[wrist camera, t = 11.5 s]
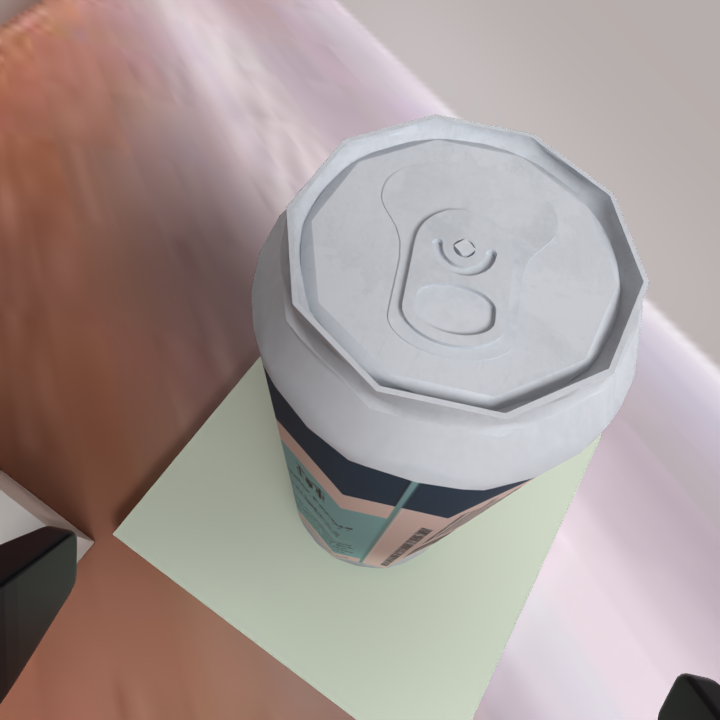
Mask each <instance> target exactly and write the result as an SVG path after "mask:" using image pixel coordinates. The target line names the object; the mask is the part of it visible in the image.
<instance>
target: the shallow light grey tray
mask: <svg viewBox="0 0 720 720" xmlns="http://www.w3.org/2000/svg"><path fill="white" fill-rule="evenodd" d="M45 526H55V527H59V528H64V529H68V530H72V531H73V532H75V534H76V536H77V563H78V562H79V560H80V559H81V558H82V557H83V556H84V554H85V553H86V552H87V551H88V550H89V548H90V547H91V546H92V545H93V544H94V541H93V540H91V539H90V538H89V537H88V536H86V535H85V534H84V533H82V532H81V531H80V530H78V529H77V528H76V527H75V526H73V525H72V524H71V523H69V522H68V521H67V520H65V519H64V518H63V517H62V516H60V515H59V514H58V513H56V512H55V511H54V510H52V509H51V508H50V507H49V506H47V505H46V504H45V503H43V502H42V501H41V500H39V499H38V498H37V497H36V496H34V495H33V494H32V493H30V492H29V491H28V490H26V489H25V488H24V487H23V486H21V485H20V484H19V483H17V482H16V481H15V480H14V479H12V478H11V477H10V476H8V475H7V474H6V473H4V472H3V471H2V470H1V469H0V544H3V543H5V542H7V541H10V540H12V539H15V538H17V537H20V536H22V535H25V534H27V533H30V532H32V531H35V530H37V529H39V528H42V527H45Z"/></svg>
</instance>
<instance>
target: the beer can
mask: <svg viewBox="0 0 720 720" xmlns="http://www.w3.org/2000/svg"><path fill="white" fill-rule="evenodd" d="M648 285H649V281H648V278H647V276H646V273H645V271H644V268H643V266H642V263H641V261H640V258H639V256H638V253H637V251H636V248H635V246H634V243H633V240H632V238H631V236H630V233H629V231H628V228H627V226H626V223H625V221H624V218H623V215H622V213H621V210H620V208H619V205H618V203H617V200H616V198H615V195H614V194H613V193H612V192H610V191H609V190H608V189H606V188H605V187H604V186H602V185H601V184H600V183H598V182H597V181H596V180H594V179H593V178H592V177H590V176H589V175H588V174H586V173H585V172H584V171H582V170H581V169H580V168H578V167H577V166H576V165H574V164H573V163H572V162H570V161H569V160H568V159H566V158H565V157H564V156H562V155H561V154H560V153H558V152H557V151H556V150H554V149H553V148H552V147H550V146H549V145H548V144H546V143H545V142H544V141H542V140H541V139H540V138H538V137H537V136H535V135H534V134H530V133H525V132H521V131H515V130H511V129H506V128H500V127H496V126H490V125H485V124H481V123H476V122H471V121H465V120H461V119H456V118H451V117H446V116H441V115H436V114H435V115H431V116H427V117H424V118H420V119H416V120H413V121H409V122H405V123H402V124H398V125H394V126H391V127H387V128H384V129H380V130H376V131H373V132H369V133H365V134H362V135H358V136H354V137H351V138H347V139H344V140H343V141H342V142H341V143H340V144H339V146H338V147H337V148H336V149H335V150H334V152H333V153H332V154H331V155H330V156H329V157H328V159H327V160H326V161H325V162H324V163H323V165H322V166H321V167H320V168H319V169H318V171H317V172H316V173H315V174H314V175H313V176H312V178H311V179H310V180H309V181H308V182H307V184H306V185H305V186H304V187H303V188H302V189H301V190H300V192H299V193H298V194H297V195H296V197H295V198H294V199H293V200H292V201H291V203H290V204H289V205H288V206H287V207H286V210H285V211H284V212H283V213H282V214H281V215H280V216H279V218H278V220H277V222H276V224H275V226H274V227H273V229H272V231H271V233H270V235H269V237H268V238H267V240H266V242H265V244H264V246H263V248H262V249H261V252H260V254H259V258H258V263H257V268H256V272H255V277H254V281H253V286H252V320H253V330H254V333H255V337H256V341H257V344H258V348H259V352H260V356H261V359H262V363H263V367H264V371H265V375H266V380H267V384H268V388H269V392H270V396H271V400H272V405H273V409H274V413H275V417H276V421H277V426H278V430H279V434H280V438H281V442H282V446H283V451H284V455H285V459H286V463H287V467H288V472H289V476H290V480H291V484H292V488H293V492H294V497H295V501H296V505H297V509H298V514H299V517H300V519H301V521H302V523H303V525H304V526H305V528H306V529H307V531H308V532H309V533H310V535H311V536H312V537H313V539H314V540H315V541H316V543H317V544H318V545H319V546H321V547H322V548H323V549H324V550H326V551H327V552H328V553H329V554H331V555H332V556H333V557H335V558H337V559H339V560H342V561H345V562H347V563H350V564H353V565H356V566H362V567H370V568H388V567H392V566H396V565H399V564H403V563H405V562H407V561H409V560H410V559H412V558H414V557H416V556H418V555H419V554H421V553H423V552H424V551H425V550H426V549H428V548H429V547H430V546H431V545H433V544H434V543H436V542H437V541H439V540H441V539H442V538H444V537H445V536H447V535H448V534H450V533H451V532H453V531H454V530H456V529H457V528H459V527H461V526H462V525H464V524H465V523H467V522H468V521H470V520H471V519H473V518H474V517H476V516H478V515H479V514H481V513H482V512H484V511H485V510H487V509H488V508H490V507H491V506H493V505H494V504H496V503H498V502H499V501H501V500H502V499H504V498H505V497H507V496H508V495H510V494H511V493H513V492H514V491H516V490H518V489H519V488H521V487H522V486H524V485H525V484H527V483H528V482H530V481H531V480H533V479H534V478H536V477H538V476H539V475H541V474H543V473H545V472H547V471H548V470H550V469H552V468H554V467H556V466H558V465H559V464H561V463H563V462H565V461H567V460H569V459H570V458H572V457H574V456H576V455H578V454H580V453H581V452H582V451H583V450H584V449H585V448H586V447H587V446H589V445H590V444H591V443H592V442H593V441H594V440H595V439H596V438H597V437H598V436H599V435H600V433H601V432H602V431H603V430H604V429H605V428H606V427H607V426H608V425H609V424H610V423H611V421H612V419H613V418H614V416H615V415H616V413H617V412H618V410H619V408H620V407H621V405H622V403H623V400H624V398H625V396H626V394H627V392H628V389H629V387H630V385H631V383H632V380H633V378H634V373H635V366H636V359H637V352H638V346H639V339H640V332H641V320H642V304H643V298H644V296H645V293H646V290H647V288H648Z"/></svg>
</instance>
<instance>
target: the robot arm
mask: <svg viewBox="0 0 720 720" xmlns="http://www.w3.org/2000/svg"><path fill="white" fill-rule="evenodd" d="M76 573H77V536H76V534H75V532H73V531H72V530H68V529H64V528H59V527H55V526H45V527H42V528H39V529H37V530H35V531H32V532H30V533H27V534H25V535H22V536H20V537H17V538H15V539H12V540H10V541H7V542H5V543H3V544H0V704H1V702H2V701H3V699H4V698H5V697H6V695H7V694H8V692H9V691H10V689H11V688H12V686H13V685H14V683H15V681H16V680H17V678H18V677H19V675H20V674H21V672H22V670H23V669H24V667H25V666H26V664H27V662H28V661H29V659H30V657H31V656H32V654H33V653H34V651H35V649H36V648H37V646H38V644H39V643H40V641H41V639H42V638H43V636H44V635H45V633H46V631H47V630H48V628H49V626H50V625H51V623H52V622H53V620H54V618H55V617H56V615H57V613H58V612H59V610H60V609H61V607H62V605H63V604H64V602H65V600H66V599H67V597H68V596H69V594H70V592H71V590H72V588H73V586H74V583H75V580H76ZM658 720H720V685H719V684H718V683H716V682H715V681H713V680H711V679H709V678H705V677H701V676H697V675H692V674H688V673H684V674H681V675H680V676H678V677H677V679H676V680H675V682H674V684H673V686H672V688H671V690H670V692H669V694H668V696H667V698H666V700H665V702H664V703H663V705H662V707H661V709H660V712H659V715H658Z"/></svg>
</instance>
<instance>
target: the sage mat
mask: <svg viewBox="0 0 720 720" xmlns="http://www.w3.org/2000/svg"><path fill="white" fill-rule="evenodd" d="M600 438H601V434H600V435H599V436H598V437H597V438H596V439H595V440H594V441H593V442H592V443H591V444H590V445H589V446H587V447H586V448H585V449H584V450H583V451H582V452H581V453H580V454H578V455H576V456H574V457H572V458H570V459H569V460H567V461H565V462H563V463H561V464H559V465H558V466H556V467H554V468H552V469H550V470H548V471H547V472H545V473H543V474H541V475H539V476H538V477H536V478H534V479H533V480H531V481H530V482H528V483H527V484H525V485H524V486H522V487H521V488H519V489H518V490H516V491H514V492H513V493H511V494H510V495H508V496H507V497H505V498H504V499H502V500H501V501H499V502H498V503H496V504H494V505H493V506H491V507H490V508H488V509H487V510H485V511H484V512H482V513H481V514H479V515H478V516H476V517H474V518H473V519H471V520H470V521H468V522H467V523H465V524H464V525H462V526H461V527H459V528H457V529H456V530H454V531H453V532H451V533H450V534H448V535H447V536H445V537H444V538H442V539H441V540H439V541H437V542H436V543H434V544H433V545H431V546H430V547H429V548H428V549H426V550H425V551H424V552H423V553H421V554H419V555H418V556H416V557H414V558H412V559H410V560H409V561H407V562H405V563H403V564H399V565H396V566H392V567H388V568H370V567H362V566H356V565H353V564H350V563H347V562H345V561H342V560H339V559H337V558H335V557H333V556H332V555H331V554H329V553H328V552H327V551H326V550H324V549H323V548H322V547H321V546H319V545H318V544H317V543H316V541H315V540H314V539H313V537H312V536H311V535H310V533H309V532H308V531H307V529H306V528H305V526H304V525H303V523H302V521H301V519H300V517H299V514H298V509H297V505H296V501H295V497H294V492H293V488H292V484H291V480H290V476H289V472H288V467H287V463H286V459H285V455H284V451H283V446H282V442H281V438H280V434H279V430H278V426H277V421H276V417H275V413H274V409H273V405H272V400H271V396H270V392H269V388H268V384H267V380H266V375H265V371H264V367H263V363H262V359H261V356H260V357H259V358H258V359H257V360H256V362H255V363H254V364H253V365H252V366H251V368H250V369H249V370H248V371H247V373H246V374H245V375H244V376H243V377H242V379H241V380H240V381H239V382H238V383H237V385H236V386H235V387H234V388H233V389H232V391H231V392H230V393H229V394H228V395H227V397H226V398H225V399H224V400H223V401H222V403H221V404H220V405H219V406H218V408H217V409H216V410H215V411H214V412H213V414H212V415H211V416H210V417H209V418H208V420H207V421H206V422H205V423H204V424H203V426H202V427H201V428H200V429H199V430H198V432H197V433H196V434H195V435H194V436H193V438H192V439H191V440H190V441H189V443H188V444H187V445H186V446H185V447H184V449H183V450H182V451H181V452H180V453H179V455H178V456H177V457H176V458H175V459H174V461H173V462H172V463H171V464H170V465H169V467H168V468H167V469H166V470H165V471H164V473H163V474H162V475H161V476H160V478H159V479H158V480H157V481H156V482H155V484H154V485H153V486H152V487H151V488H150V490H149V491H148V492H147V493H146V494H145V496H144V497H143V498H142V499H141V500H140V502H139V503H138V504H137V505H136V506H135V508H134V509H133V510H132V511H131V513H130V514H129V515H128V516H127V517H126V519H125V520H124V521H123V522H122V523H121V525H120V526H119V527H118V528H117V529H116V531H115V532H114V533H113V535H114V536H115V537H117V538H118V539H119V540H121V541H122V542H123V543H125V544H126V545H127V546H128V547H130V548H131V549H132V550H134V551H135V552H136V553H138V554H139V555H140V556H142V557H143V558H144V559H146V560H147V561H148V562H150V563H151V564H152V565H153V566H155V567H156V568H157V569H159V570H160V571H161V572H163V573H164V574H165V575H167V576H168V577H169V578H171V579H172V580H173V581H175V582H176V583H177V584H178V585H180V586H181V587H182V588H184V589H185V590H186V591H188V592H189V593H190V594H192V595H193V596H194V597H196V598H197V599H198V600H200V601H201V602H202V603H203V604H205V605H206V606H207V607H209V608H210V609H211V610H213V611H214V612H215V613H217V614H218V615H219V616H221V617H222V618H223V619H224V620H226V621H227V622H228V623H230V624H231V625H232V626H234V627H235V628H236V629H238V630H239V631H240V632H242V633H243V634H244V635H246V636H247V637H248V638H249V639H251V640H252V641H253V642H255V643H256V644H257V645H259V646H260V647H261V648H263V649H264V650H265V651H267V652H268V653H269V654H271V655H272V656H273V657H274V658H276V659H277V660H278V661H280V662H281V663H282V664H284V665H285V666H286V667H288V668H289V669H290V670H292V671H293V672H294V673H296V674H297V675H298V676H299V677H301V678H302V679H303V680H305V681H306V682H307V683H309V684H310V685H311V686H313V687H314V688H315V689H317V690H318V691H319V692H321V693H322V694H323V695H324V696H326V697H327V698H328V699H330V700H331V701H332V702H334V703H335V704H336V705H338V706H339V707H340V708H342V709H343V710H344V711H346V712H347V713H348V714H349V715H351V716H352V717H353V718H355V719H356V720H472V718H473V716H474V714H475V712H476V710H477V707H478V705H479V703H480V701H481V699H482V697H483V694H484V692H485V690H486V688H487V686H488V683H489V681H490V679H491V677H492V675H493V672H494V670H495V668H496V666H497V664H498V661H499V659H500V657H501V655H502V653H503V650H504V648H505V646H506V644H507V642H508V639H509V637H510V635H511V633H512V631H513V629H514V626H515V624H516V622H517V620H518V618H519V615H520V613H521V611H522V609H523V607H524V604H525V602H526V600H527V598H528V596H529V593H530V591H531V589H532V587H533V585H534V582H535V580H536V578H537V576H538V574H539V571H540V569H541V567H542V565H543V563H544V560H545V558H546V556H547V554H548V552H549V550H550V547H551V545H552V543H553V541H554V539H555V536H556V534H557V532H558V530H559V528H560V525H561V523H562V521H563V519H564V517H565V514H566V512H567V510H568V508H569V506H570V503H571V501H572V499H573V497H574V495H575V492H576V490H577V488H578V486H579V484H580V481H581V479H582V477H583V475H584V473H585V471H586V468H587V466H588V464H589V462H590V460H591V457H592V455H593V453H594V451H595V449H596V446H597V444H598V442H599V440H600Z"/></svg>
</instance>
